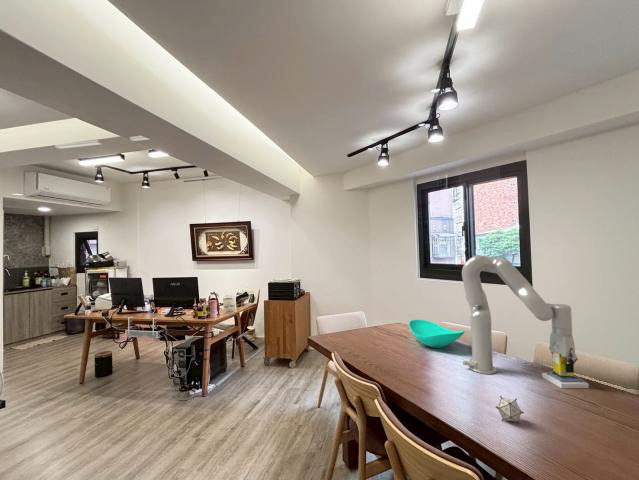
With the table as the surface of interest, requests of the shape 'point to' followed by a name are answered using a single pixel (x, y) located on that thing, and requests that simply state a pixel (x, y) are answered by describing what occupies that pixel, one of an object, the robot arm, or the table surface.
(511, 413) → the grey icosahedron
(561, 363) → the supplement box
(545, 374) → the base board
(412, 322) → the table top decor
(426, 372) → the table surface
